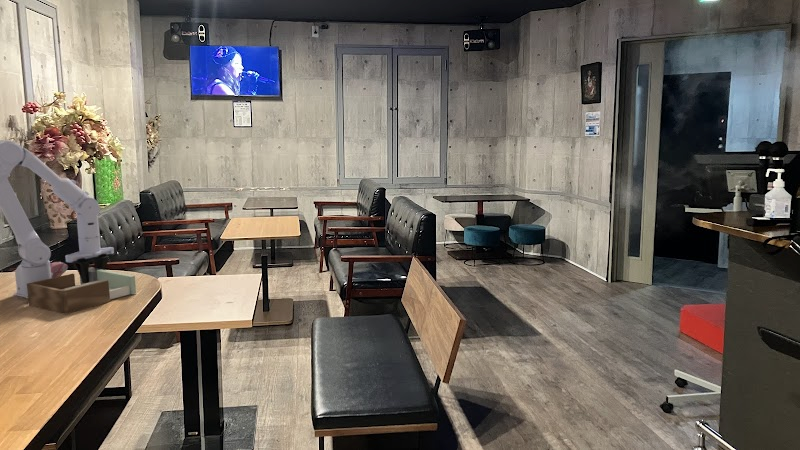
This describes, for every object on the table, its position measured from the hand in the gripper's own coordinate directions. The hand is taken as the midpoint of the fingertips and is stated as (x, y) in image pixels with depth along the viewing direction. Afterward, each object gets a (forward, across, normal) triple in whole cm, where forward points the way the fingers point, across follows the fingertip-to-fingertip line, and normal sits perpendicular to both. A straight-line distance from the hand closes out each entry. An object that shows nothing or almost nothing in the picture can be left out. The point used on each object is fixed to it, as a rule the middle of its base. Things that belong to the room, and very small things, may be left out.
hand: (92, 281), depth 190 cm
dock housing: (+1, -14, -12) cm, 18 cm away
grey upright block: (+1, 0, 0) cm, 1 cm away
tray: (+1, -6, -12) cm, 13 cm away
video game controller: (+2, -2, +17) cm, 17 cm away
